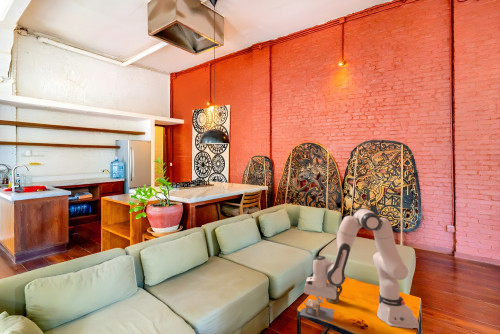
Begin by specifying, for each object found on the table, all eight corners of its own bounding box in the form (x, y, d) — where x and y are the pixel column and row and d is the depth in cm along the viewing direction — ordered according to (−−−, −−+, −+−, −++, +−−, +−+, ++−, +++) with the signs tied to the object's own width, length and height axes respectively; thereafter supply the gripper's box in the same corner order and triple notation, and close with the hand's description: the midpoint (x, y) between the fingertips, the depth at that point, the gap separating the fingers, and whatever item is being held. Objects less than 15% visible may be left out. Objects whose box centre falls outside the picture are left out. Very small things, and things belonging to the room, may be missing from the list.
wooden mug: (346, 306, 174) (346, 280, 174) (325, 302, 178) (325, 277, 178) (345, 299, 183) (345, 274, 182) (325, 296, 187) (325, 272, 186)
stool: (319, 301, 170) (307, 298, 173) (318, 307, 163) (305, 304, 166) (319, 309, 170) (307, 306, 173) (318, 316, 163) (305, 313, 166)
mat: (334, 310, 169) (334, 309, 169) (331, 322, 157) (331, 322, 157) (304, 303, 177) (304, 303, 177) (299, 315, 165) (299, 314, 165)
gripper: (337, 282, 164) (337, 303, 165) (305, 276, 173) (305, 297, 173) (336, 286, 159) (336, 308, 159) (303, 281, 167) (303, 301, 167)
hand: (320, 302), depth 166 cm, fingers closed
